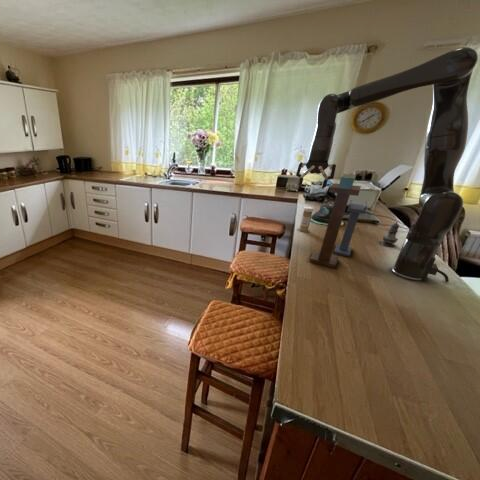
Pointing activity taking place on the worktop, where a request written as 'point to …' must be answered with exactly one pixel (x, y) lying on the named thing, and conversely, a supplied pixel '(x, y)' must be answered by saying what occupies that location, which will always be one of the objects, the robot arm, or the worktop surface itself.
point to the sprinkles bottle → (306, 219)
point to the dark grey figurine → (391, 236)
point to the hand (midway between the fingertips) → (311, 187)
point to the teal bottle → (347, 181)
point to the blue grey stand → (350, 228)
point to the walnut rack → (334, 225)
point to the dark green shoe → (323, 215)
